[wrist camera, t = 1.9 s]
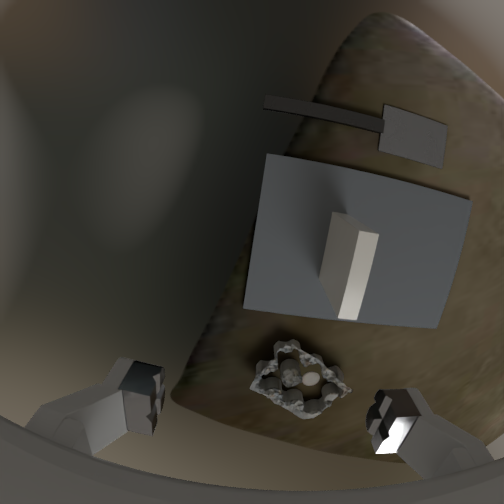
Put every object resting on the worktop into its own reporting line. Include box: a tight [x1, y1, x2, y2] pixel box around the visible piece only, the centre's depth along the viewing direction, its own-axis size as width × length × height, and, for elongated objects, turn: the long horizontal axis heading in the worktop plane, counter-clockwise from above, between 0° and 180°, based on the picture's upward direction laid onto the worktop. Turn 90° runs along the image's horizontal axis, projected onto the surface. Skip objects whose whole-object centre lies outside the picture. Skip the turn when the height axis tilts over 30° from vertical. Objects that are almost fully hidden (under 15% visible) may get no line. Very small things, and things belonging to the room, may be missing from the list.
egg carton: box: [250, 339, 353, 419], centre depth 35 cm, size 11×8×4 cm
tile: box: [319, 212, 379, 320], centre depth 28 cm, size 2×7×9 cm, turn 172°
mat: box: [243, 153, 473, 329], centre depth 32 cm, size 24×16×1 cm, turn 82°
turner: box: [263, 95, 448, 169], centre depth 29 cm, size 20×5×1 cm, turn 82°
